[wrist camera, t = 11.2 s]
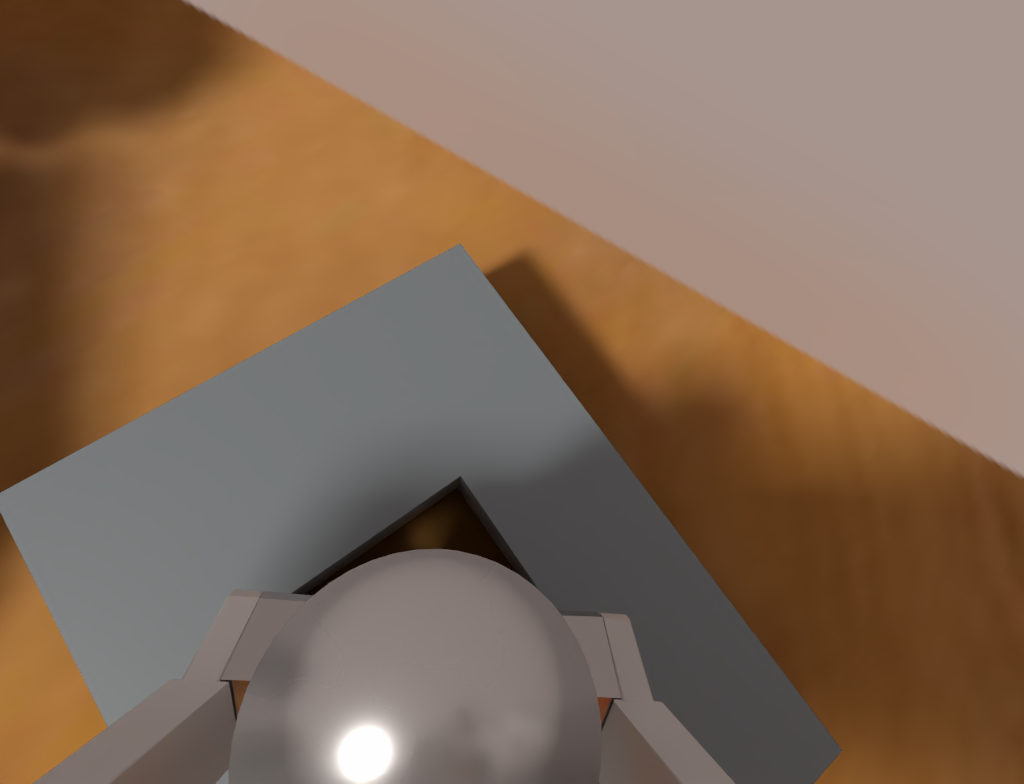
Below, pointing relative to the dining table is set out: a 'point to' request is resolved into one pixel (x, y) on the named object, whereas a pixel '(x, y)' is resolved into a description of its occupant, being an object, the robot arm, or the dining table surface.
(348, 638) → the steel pin
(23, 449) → the dining table surface
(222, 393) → the socket plate
